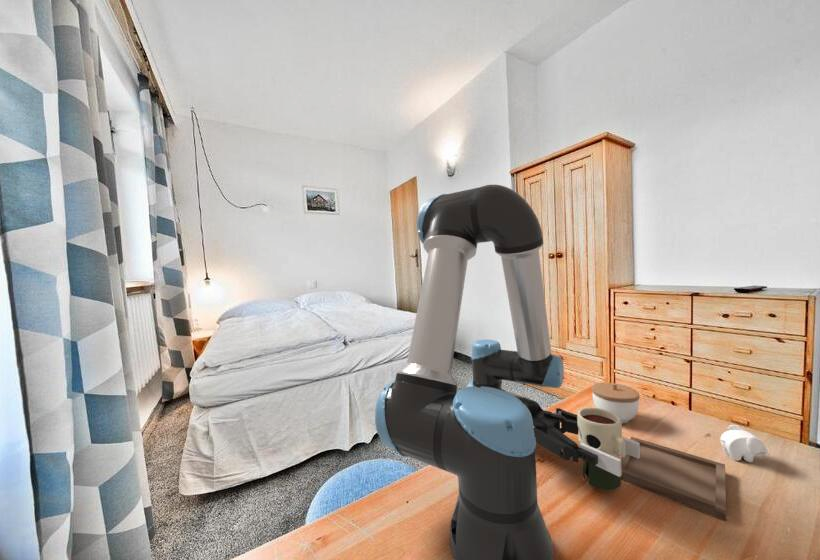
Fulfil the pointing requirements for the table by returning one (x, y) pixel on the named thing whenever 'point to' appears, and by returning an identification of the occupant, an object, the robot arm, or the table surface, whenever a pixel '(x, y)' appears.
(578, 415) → the character mug
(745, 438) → the elephant figurine
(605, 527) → the table surface
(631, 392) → the lidded jar
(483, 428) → the robot arm
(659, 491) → the walnut tray
